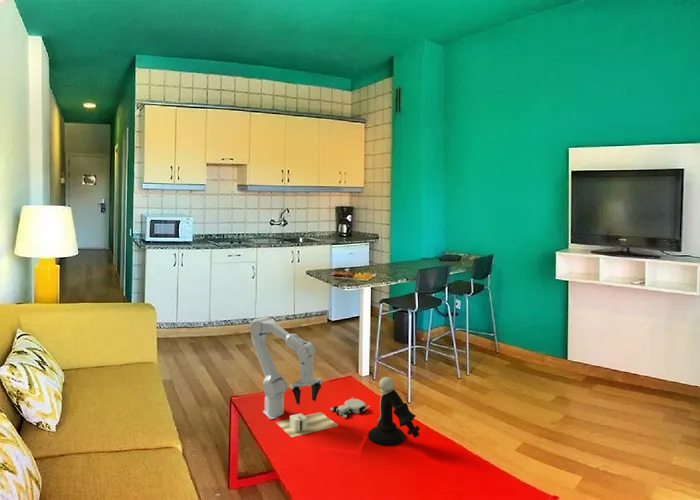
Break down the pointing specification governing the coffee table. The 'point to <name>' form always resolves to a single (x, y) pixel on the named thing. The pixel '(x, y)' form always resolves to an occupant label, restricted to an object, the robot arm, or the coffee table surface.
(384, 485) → the coffee table surface
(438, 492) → the coffee table surface
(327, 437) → the coffee table surface
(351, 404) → the robot toy
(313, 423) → the board
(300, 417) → the slotted white block
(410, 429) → the sculpture
